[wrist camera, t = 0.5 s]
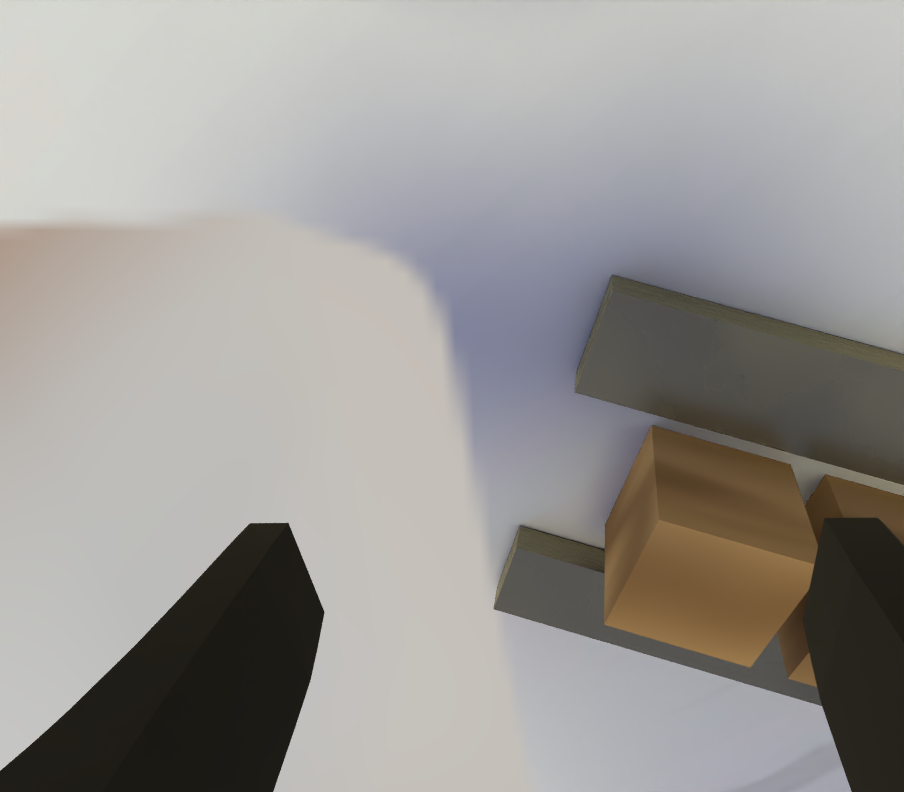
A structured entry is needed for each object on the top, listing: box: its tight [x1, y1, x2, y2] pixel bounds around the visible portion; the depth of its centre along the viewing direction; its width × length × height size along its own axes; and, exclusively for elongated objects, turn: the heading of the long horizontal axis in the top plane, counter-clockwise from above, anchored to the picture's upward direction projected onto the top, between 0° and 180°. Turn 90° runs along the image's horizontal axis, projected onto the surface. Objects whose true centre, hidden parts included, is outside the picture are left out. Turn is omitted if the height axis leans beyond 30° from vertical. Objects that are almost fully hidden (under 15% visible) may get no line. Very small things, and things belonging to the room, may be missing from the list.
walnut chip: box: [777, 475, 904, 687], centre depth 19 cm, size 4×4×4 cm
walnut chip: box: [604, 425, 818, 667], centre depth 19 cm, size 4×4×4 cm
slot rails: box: [494, 275, 904, 706], centre depth 20 cm, size 12×13×1 cm
